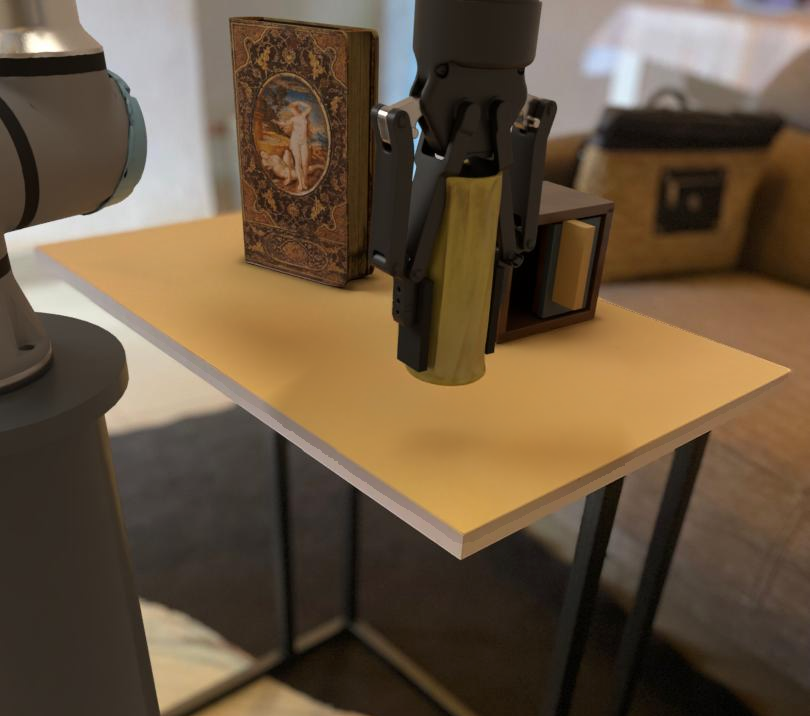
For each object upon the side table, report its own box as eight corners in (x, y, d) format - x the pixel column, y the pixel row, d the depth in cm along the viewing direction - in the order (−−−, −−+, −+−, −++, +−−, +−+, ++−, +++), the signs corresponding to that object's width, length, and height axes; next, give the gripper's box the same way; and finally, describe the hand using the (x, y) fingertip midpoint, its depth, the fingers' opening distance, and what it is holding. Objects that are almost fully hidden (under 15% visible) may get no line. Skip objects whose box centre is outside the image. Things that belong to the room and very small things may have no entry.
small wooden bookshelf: (435, 312, 90) (443, 194, 83) (531, 290, 97) (545, 180, 90) (497, 343, 83) (511, 219, 76) (594, 318, 90) (615, 202, 83)
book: (237, 260, 101) (220, 17, 87) (268, 250, 105) (256, 15, 90) (346, 290, 94) (347, 31, 80) (374, 278, 98) (380, 29, 83)
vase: (398, 381, 61) (409, 174, 53) (412, 348, 66) (425, 154, 58) (480, 392, 60) (505, 184, 52) (489, 358, 65) (513, 163, 57)
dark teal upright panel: (536, 316, 87) (550, 219, 81) (580, 305, 90) (596, 211, 84) (563, 328, 84) (579, 229, 78) (607, 317, 87) (625, 221, 82)
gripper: (385, -13, 42) (370, 404, 56) (635, -6, 51) (570, 349, 65) (308, -24, 47) (312, 362, 60) (550, -16, 56) (506, 317, 70)
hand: (446, 355), depth 63 cm, fingers closed on vase, 6 cm apart
